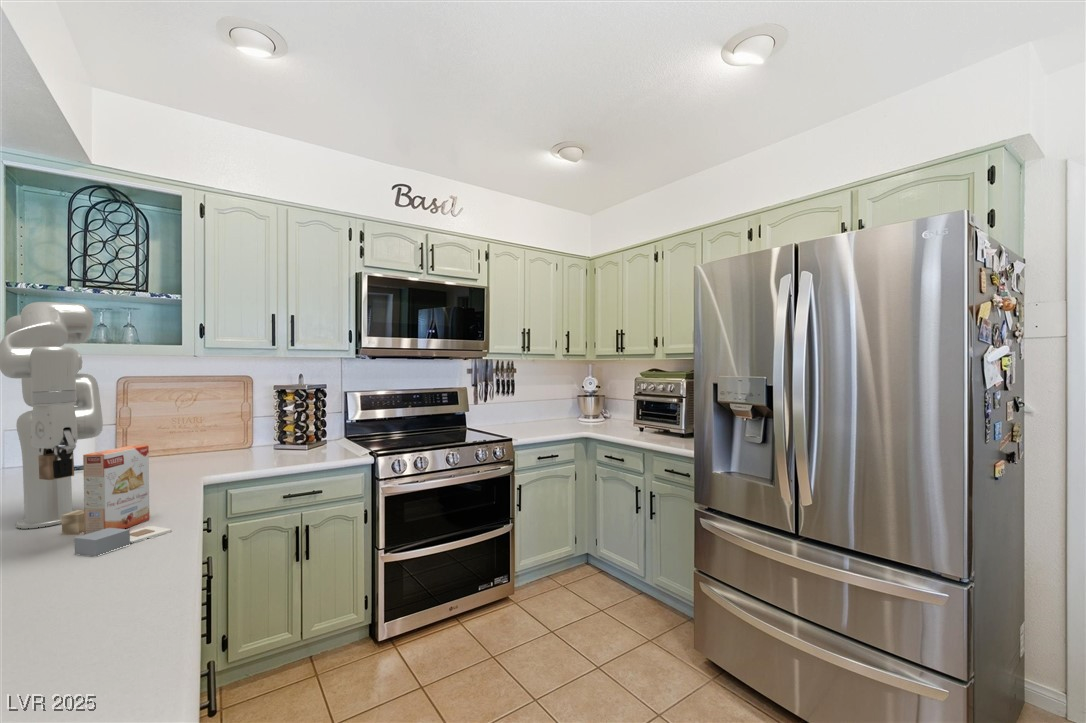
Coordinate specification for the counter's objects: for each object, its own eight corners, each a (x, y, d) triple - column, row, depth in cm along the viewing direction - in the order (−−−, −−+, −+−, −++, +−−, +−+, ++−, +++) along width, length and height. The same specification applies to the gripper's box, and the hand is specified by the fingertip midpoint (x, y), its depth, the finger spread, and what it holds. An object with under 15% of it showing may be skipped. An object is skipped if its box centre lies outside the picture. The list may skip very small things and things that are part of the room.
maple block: (62, 534, 128) (61, 515, 128) (79, 528, 132) (78, 510, 132) (78, 534, 128) (78, 514, 128) (95, 528, 132) (94, 509, 132)
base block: (74, 555, 113) (74, 537, 113) (109, 544, 120) (108, 527, 120) (96, 558, 111) (95, 540, 111) (130, 546, 118) (129, 529, 118)
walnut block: (39, 478, 116) (38, 455, 116) (63, 474, 120) (63, 451, 120) (49, 480, 114) (48, 456, 114) (74, 475, 119) (73, 452, 119)
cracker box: (107, 537, 124) (104, 453, 124) (83, 537, 125) (80, 454, 125) (152, 519, 138) (149, 444, 138) (130, 519, 139) (128, 444, 139)
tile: (109, 539, 122) (109, 536, 122) (150, 528, 131) (150, 525, 131) (131, 543, 119) (131, 540, 119) (172, 531, 127) (171, 528, 127)
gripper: (14, 400, 117) (17, 477, 117) (53, 400, 111) (55, 482, 111) (55, 397, 124) (58, 470, 124) (94, 397, 117) (96, 474, 118)
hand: (57, 475), depth 117 cm, fingers closed on walnut block, 4 cm apart
